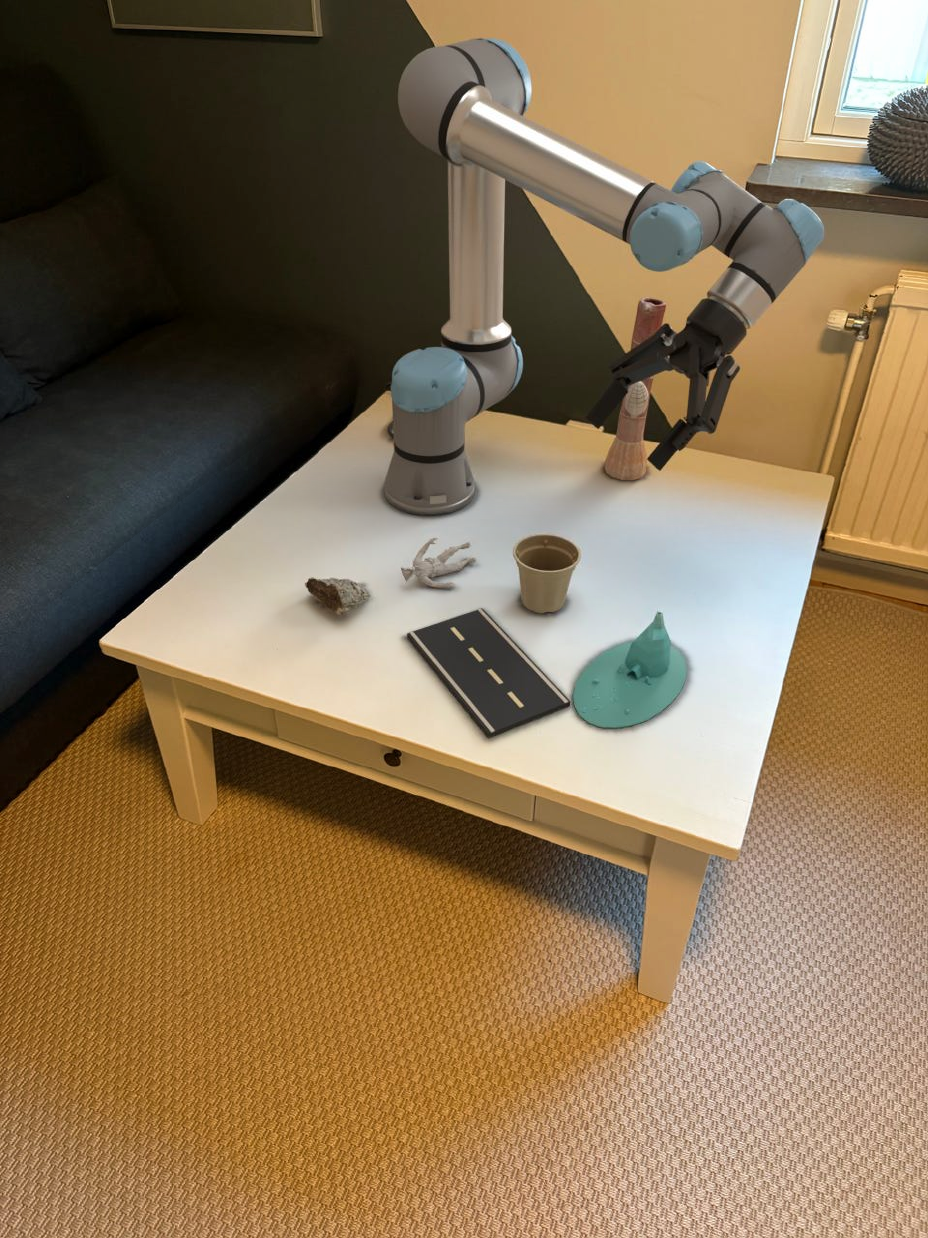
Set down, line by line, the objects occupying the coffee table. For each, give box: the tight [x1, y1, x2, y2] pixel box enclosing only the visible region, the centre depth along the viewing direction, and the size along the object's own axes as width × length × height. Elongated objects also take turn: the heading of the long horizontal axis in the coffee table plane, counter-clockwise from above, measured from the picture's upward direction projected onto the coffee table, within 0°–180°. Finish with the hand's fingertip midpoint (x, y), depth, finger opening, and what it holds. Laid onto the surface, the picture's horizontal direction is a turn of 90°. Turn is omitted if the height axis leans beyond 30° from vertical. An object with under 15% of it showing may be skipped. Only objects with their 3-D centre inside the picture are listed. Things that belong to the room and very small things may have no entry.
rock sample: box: [304, 576, 371, 616], centre depth 135 cm, size 10×8×9 cm
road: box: [406, 607, 571, 739], centre depth 125 cm, size 22×12×1 cm, turn 30°
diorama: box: [572, 611, 688, 730], centre depth 121 cm, size 12×20×9 cm, turn 141°
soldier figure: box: [400, 537, 477, 589], centre depth 141 cm, size 8×5×12 cm
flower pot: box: [512, 533, 582, 614], centre depth 135 cm, size 9×9×9 cm
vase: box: [604, 296, 667, 481], centre depth 160 cm, size 11×7×30 cm
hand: (621, 443), depth 127 cm, fingers open, 13 cm apart
